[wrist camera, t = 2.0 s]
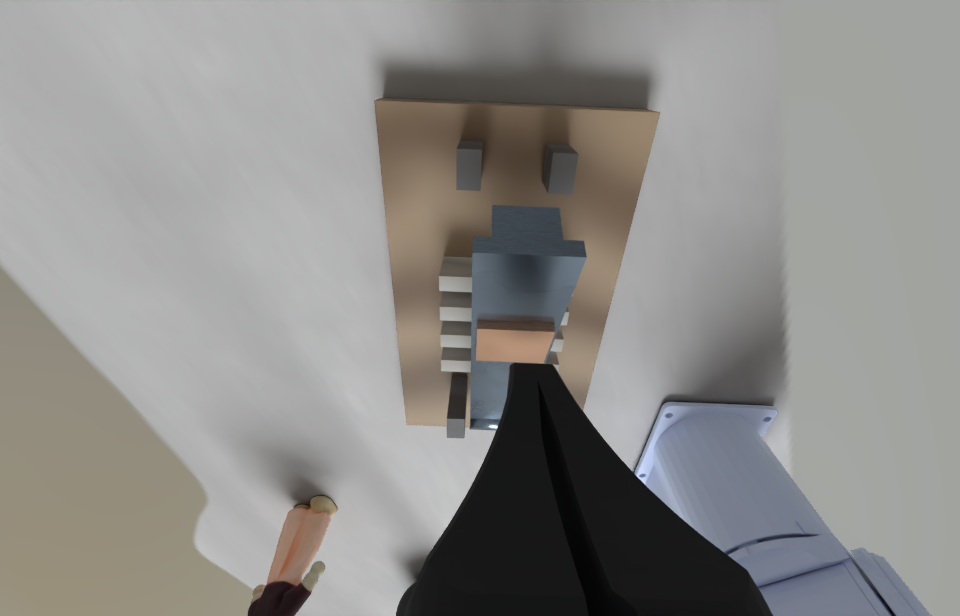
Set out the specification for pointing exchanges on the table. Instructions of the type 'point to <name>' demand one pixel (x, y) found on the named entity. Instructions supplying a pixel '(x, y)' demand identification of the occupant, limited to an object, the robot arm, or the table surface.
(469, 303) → the base
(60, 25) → the table surface
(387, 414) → the table surface
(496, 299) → the bar
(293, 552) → the grandmother figurine
